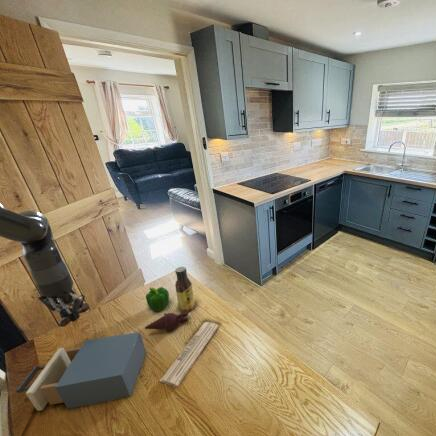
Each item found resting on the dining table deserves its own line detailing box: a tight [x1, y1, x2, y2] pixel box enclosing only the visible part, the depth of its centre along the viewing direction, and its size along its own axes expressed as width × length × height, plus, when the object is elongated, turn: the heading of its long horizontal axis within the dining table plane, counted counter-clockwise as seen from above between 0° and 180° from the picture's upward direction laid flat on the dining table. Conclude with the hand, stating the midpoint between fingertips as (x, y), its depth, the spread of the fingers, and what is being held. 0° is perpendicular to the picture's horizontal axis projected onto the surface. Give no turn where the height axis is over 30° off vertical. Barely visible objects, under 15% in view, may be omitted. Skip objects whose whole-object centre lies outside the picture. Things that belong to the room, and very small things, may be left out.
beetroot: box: [144, 311, 189, 333], centre depth 92 cm, size 7×7×15 cm
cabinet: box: [55, 331, 147, 410], centre depth 73 cm, size 16×15×10 cm
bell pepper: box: [145, 286, 170, 312], centre depth 101 cm, size 8×8×10 cm
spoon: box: [58, 302, 91, 328], centre depth 78 cm, size 10×3×2 cm, turn 176°
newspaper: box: [158, 321, 219, 388], centre depth 84 cm, size 24×7×2 cm, turn 165°
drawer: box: [15, 346, 82, 412], centre depth 71 cm, size 20×14×8 cm
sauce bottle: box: [174, 266, 196, 313], centre depth 99 cm, size 7×6×20 cm
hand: (71, 319), depth 78 cm, fingers closed on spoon, 2 cm apart
